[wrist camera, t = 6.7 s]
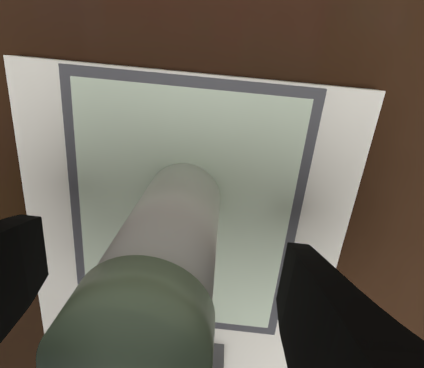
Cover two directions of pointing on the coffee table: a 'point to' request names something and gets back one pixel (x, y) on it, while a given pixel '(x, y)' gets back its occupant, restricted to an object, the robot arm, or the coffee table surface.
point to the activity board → (196, 155)
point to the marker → (147, 285)
